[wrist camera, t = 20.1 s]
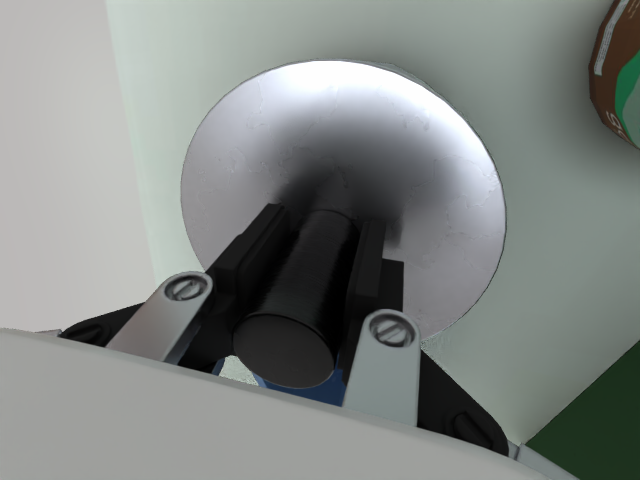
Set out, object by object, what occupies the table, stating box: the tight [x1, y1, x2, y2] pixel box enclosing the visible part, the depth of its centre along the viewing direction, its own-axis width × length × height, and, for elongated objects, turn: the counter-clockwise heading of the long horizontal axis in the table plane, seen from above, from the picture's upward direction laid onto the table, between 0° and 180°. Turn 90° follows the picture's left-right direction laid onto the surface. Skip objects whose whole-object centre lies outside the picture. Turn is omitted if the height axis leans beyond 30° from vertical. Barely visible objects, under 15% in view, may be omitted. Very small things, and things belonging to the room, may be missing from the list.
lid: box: [181, 58, 507, 389], centre depth 10 cm, size 12×12×6 cm
